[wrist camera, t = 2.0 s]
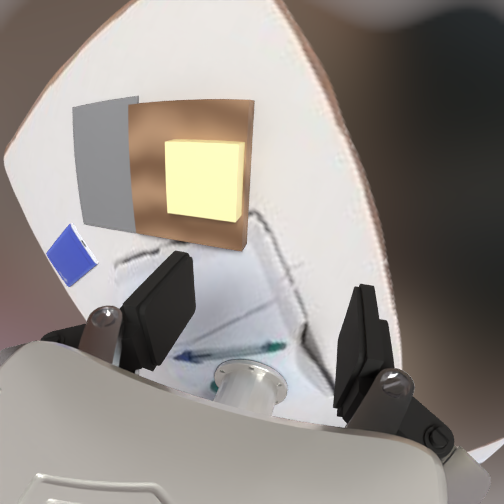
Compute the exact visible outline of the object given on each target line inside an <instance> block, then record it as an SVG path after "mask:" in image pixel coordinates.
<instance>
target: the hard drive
mask: <svg viewBox="0 0 504 504" xmlns="http://www.w3.org/2000/svg"><path fill="white" fill-rule="evenodd" d="M46 254H47V256H48V258H49V260H50V261H51V263H52V264H53V266H54V267H55V269H56V270H57V272H58V273H59V275H60V276H61V278H62V279H63V280H64V282H65V283H66V285H67V286H68V287H70V286H71V285H73V284H74V283H75V282H76V281H77V280H79V279H80V278H81V277H82V276H83V275H85V274H86V273H87V272H88V271H89V270H91V269H92V268H93V267H94V266H96V265H97V264H98V263H99V262H98V261H97V259H96V258H95V256H94V255H93V253H92V252H91V250H90V249H89V247H88V246H87V244H86V243H85V241H84V240H83V238H82V237H81V235H80V233H79V232H78V230H77V229H76V227H75V225H74V224H73V222H72V223H70V224H69V225H68V226H67V228H66V229H65V230H64V231H63V233H62V234H61V235H60V236H59V238H58V239H57V240H56V241H55V243H54V244H53V245H52V247H51V248H50V249H49V250H48V252H47V253H46Z"/></svg>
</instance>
